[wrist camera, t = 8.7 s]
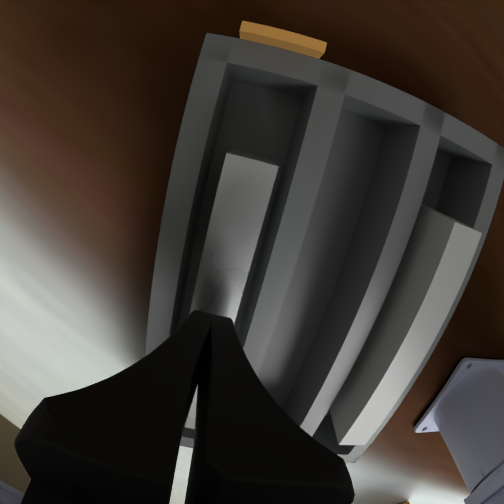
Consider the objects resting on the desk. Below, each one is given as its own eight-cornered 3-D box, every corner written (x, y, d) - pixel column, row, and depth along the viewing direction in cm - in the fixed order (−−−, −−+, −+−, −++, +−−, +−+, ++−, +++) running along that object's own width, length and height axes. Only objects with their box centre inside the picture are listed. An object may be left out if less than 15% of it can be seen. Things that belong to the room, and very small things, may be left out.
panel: (212, 366, 18) (203, 431, 13) (185, 360, 18) (169, 423, 13) (269, 157, 14) (278, 166, 9) (234, 148, 14) (226, 152, 9)
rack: (463, 139, 14) (533, 147, 9) (342, 420, 21) (359, 479, 16) (219, 51, 13) (204, 8, 8) (155, 390, 20) (135, 454, 14)
